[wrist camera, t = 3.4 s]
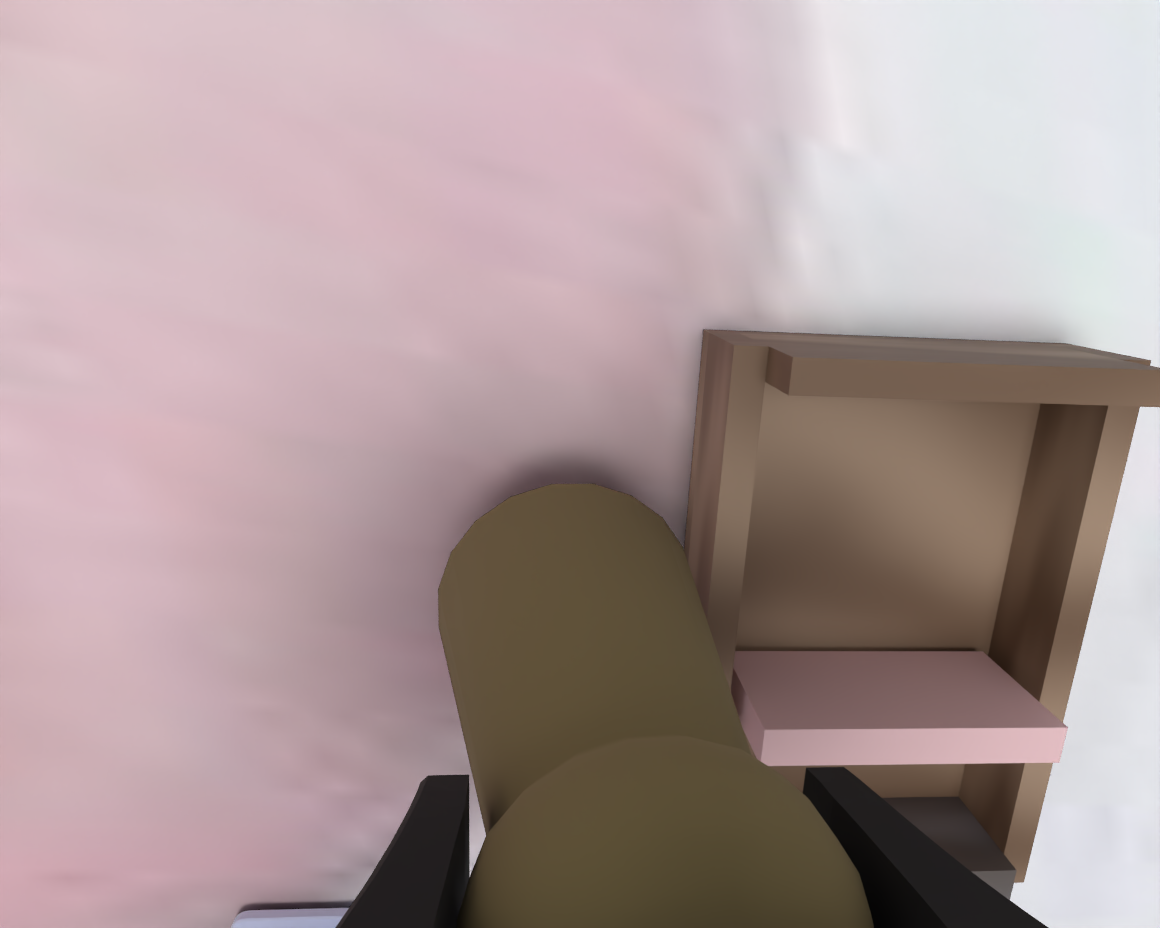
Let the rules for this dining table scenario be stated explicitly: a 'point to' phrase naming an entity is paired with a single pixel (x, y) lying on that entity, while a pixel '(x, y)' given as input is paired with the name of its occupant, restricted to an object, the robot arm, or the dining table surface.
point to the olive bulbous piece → (616, 736)
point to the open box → (914, 527)
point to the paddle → (889, 709)
